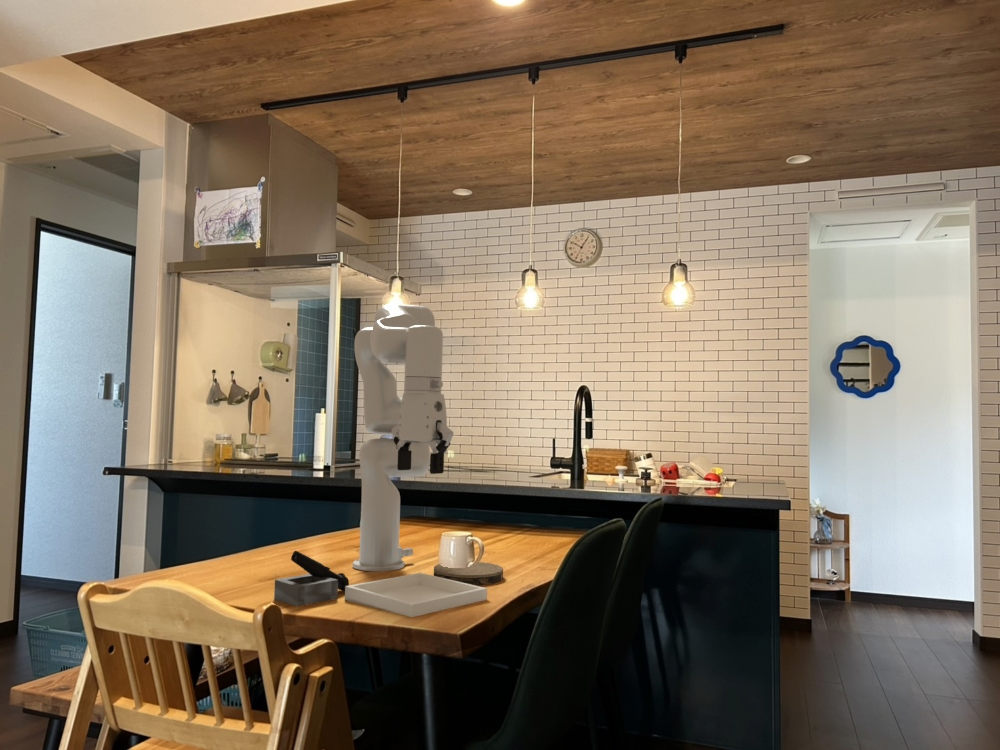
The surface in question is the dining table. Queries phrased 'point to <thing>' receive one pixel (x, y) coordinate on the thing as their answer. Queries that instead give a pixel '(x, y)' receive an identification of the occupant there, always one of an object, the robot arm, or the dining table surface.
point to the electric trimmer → (319, 569)
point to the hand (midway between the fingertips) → (420, 471)
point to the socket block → (305, 589)
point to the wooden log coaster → (472, 573)
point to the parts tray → (414, 594)
